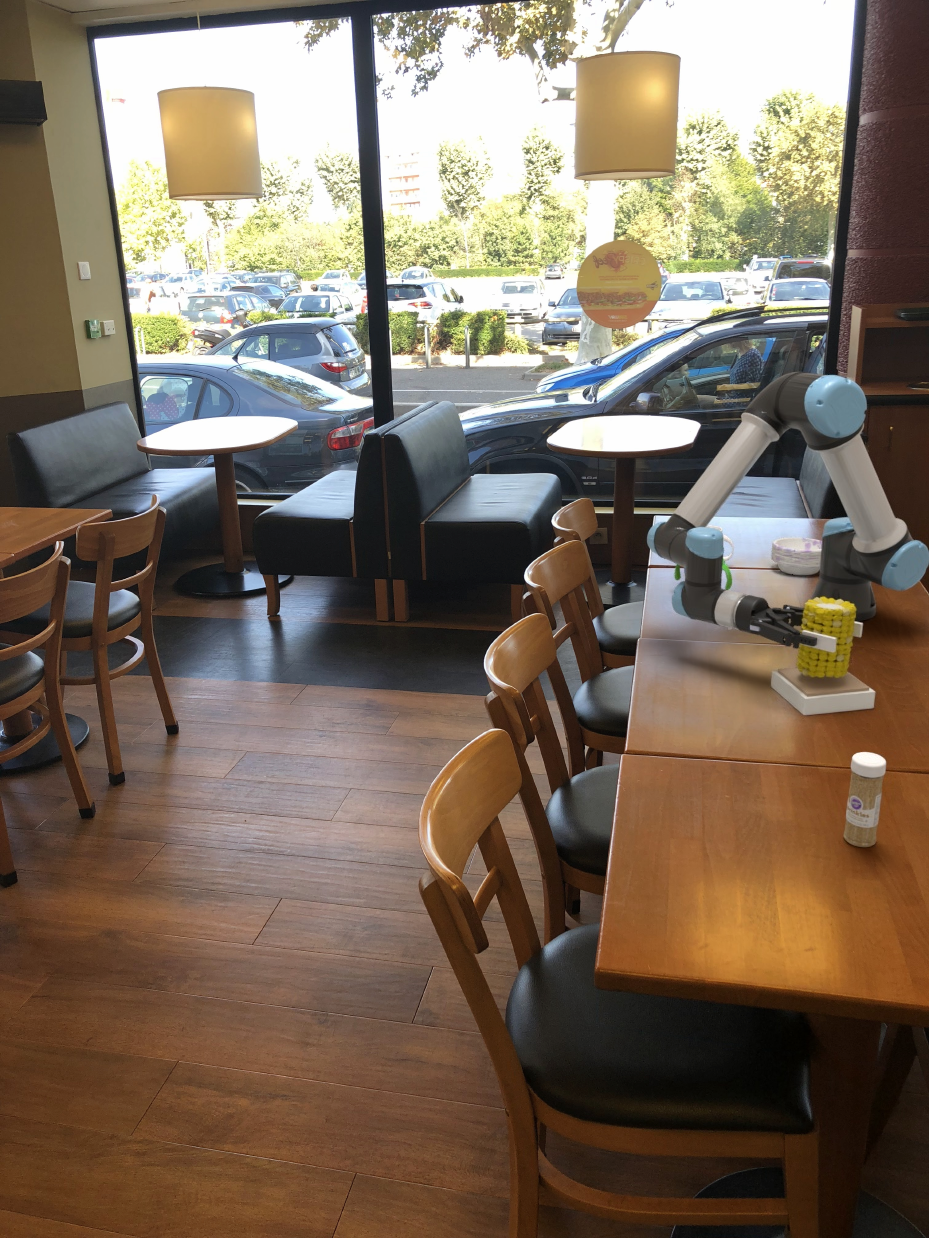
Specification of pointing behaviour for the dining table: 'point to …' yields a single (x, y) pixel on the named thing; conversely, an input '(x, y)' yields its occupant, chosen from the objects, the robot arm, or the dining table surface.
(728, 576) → the snack cup
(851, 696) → the plinth
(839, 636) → the food
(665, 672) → the dining table surface
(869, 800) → the sprinkles bottle
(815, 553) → the paper bowls
